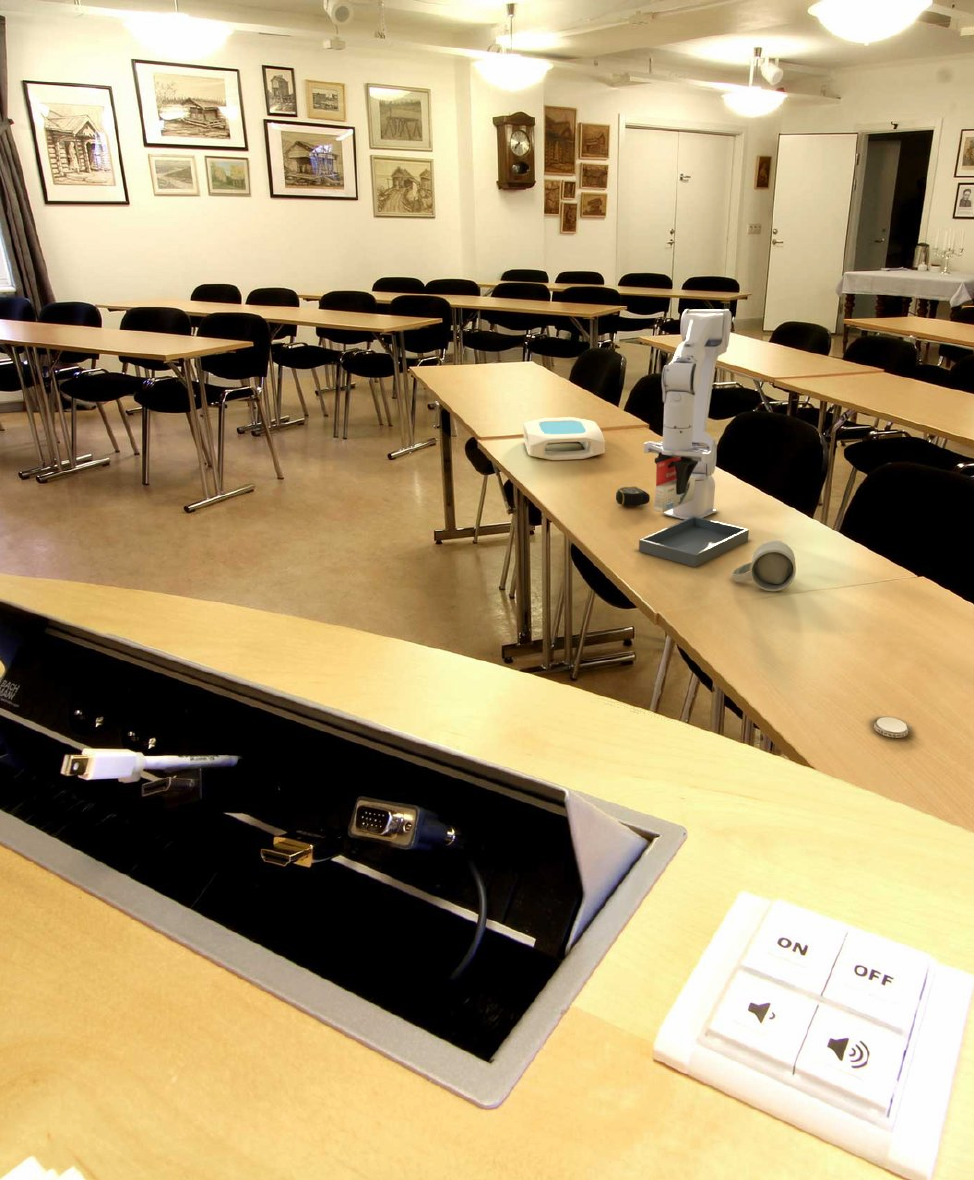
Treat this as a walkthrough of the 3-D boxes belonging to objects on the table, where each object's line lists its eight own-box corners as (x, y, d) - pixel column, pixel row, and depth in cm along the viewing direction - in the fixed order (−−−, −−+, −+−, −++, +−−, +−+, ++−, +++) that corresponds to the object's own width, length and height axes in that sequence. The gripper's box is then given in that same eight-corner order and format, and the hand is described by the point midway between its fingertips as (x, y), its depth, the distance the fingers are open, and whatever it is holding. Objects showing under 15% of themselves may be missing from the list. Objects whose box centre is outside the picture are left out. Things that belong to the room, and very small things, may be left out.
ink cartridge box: (694, 500, 174) (697, 454, 170) (663, 513, 167) (666, 465, 163) (683, 497, 175) (687, 452, 171) (652, 510, 168) (655, 463, 164)
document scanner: (590, 435, 261) (590, 415, 258) (605, 458, 235) (605, 436, 233) (523, 438, 260) (522, 418, 258) (530, 461, 235) (530, 439, 232)
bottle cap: (874, 734, 106) (875, 730, 106) (873, 718, 110) (874, 714, 110) (909, 739, 105) (910, 735, 105) (907, 723, 108) (907, 719, 108)
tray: (692, 527, 181) (693, 515, 180) (747, 540, 172) (749, 529, 171) (638, 551, 169) (639, 539, 168) (694, 567, 160) (695, 555, 159)
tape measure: (650, 507, 194) (651, 491, 192) (623, 511, 192) (624, 495, 190) (637, 499, 200) (637, 484, 198) (610, 502, 198) (611, 487, 196)
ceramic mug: (793, 576, 154) (796, 536, 151) (793, 593, 147) (797, 552, 144) (733, 572, 157) (735, 533, 154) (730, 589, 150) (733, 549, 147)
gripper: (635, 424, 166) (633, 490, 172) (698, 434, 157) (694, 503, 162) (656, 418, 171) (653, 482, 176) (719, 427, 161) (714, 495, 167)
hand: (674, 492), depth 170 cm, fingers closed on ink cartridge box, 2 cm apart
